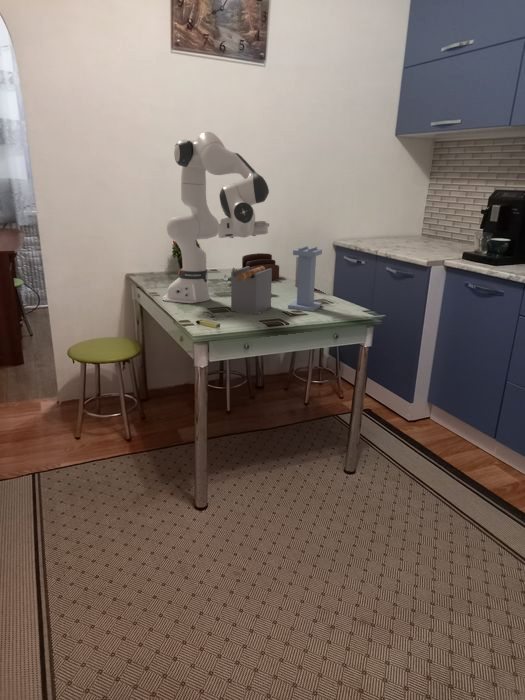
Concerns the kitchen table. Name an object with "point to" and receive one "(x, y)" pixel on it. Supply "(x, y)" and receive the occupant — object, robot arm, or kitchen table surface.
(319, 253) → the shelf post
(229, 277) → the passion flower
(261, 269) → the dowel
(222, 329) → the kitchen table surface
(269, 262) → the letter holder
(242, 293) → the tray stand
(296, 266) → the flask
